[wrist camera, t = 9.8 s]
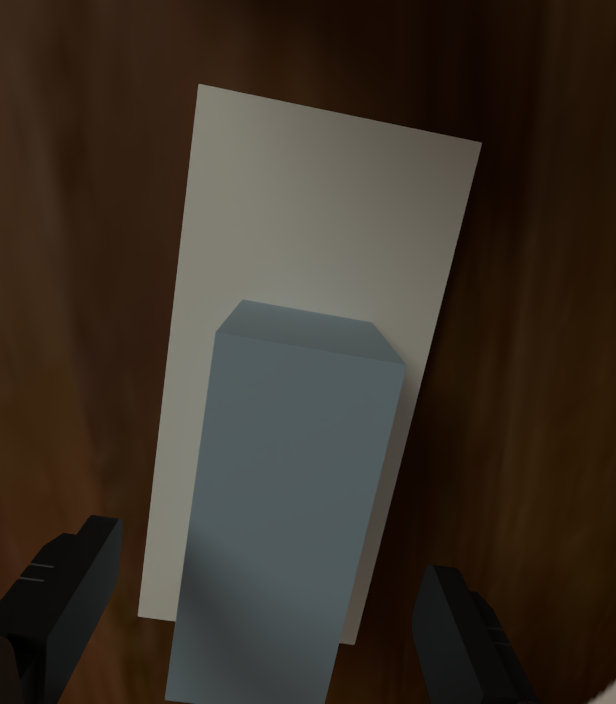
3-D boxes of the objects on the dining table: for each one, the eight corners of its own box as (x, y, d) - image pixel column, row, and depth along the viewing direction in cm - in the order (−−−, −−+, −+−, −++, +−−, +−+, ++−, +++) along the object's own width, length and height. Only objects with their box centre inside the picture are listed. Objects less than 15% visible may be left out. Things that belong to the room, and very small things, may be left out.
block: (242, 299, 18) (215, 332, 12) (371, 322, 18) (406, 365, 12) (202, 567, 21) (165, 699, 15) (314, 583, 21) (320, 718, 15)
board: (203, 90, 17) (180, 57, 13) (473, 146, 17) (514, 127, 14) (143, 602, 22) (117, 666, 19) (352, 630, 23) (361, 696, 19)
